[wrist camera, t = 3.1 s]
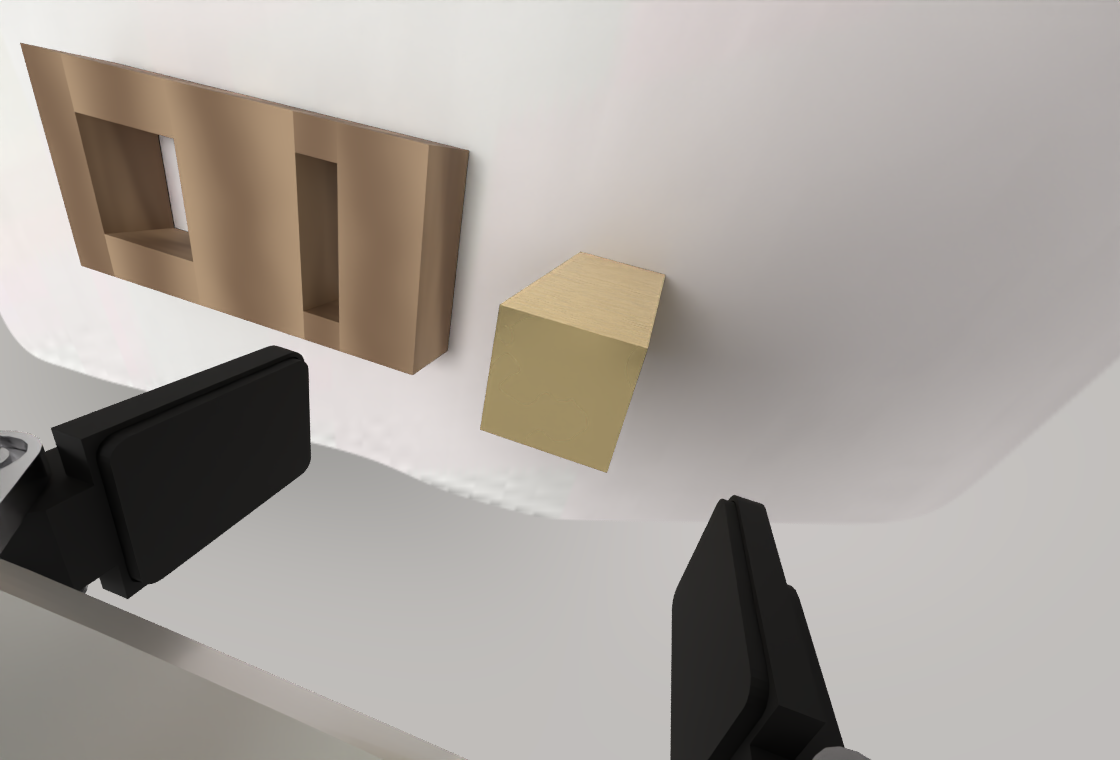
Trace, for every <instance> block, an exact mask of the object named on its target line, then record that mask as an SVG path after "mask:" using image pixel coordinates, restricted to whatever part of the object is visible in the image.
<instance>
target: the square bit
mask: <svg viewBox="0 0 1120 760" xmlns="http://www.w3.org/2000/svg"><path fill="white" fill-rule="evenodd" d="M664 279H665V275H664V274H661V273H657V272H653V271H650V270H646V269H642V268H639V267H635V266H631V265H628V264H624V263H620V262H617V261H613V260H609V259H605V258H602V257H598V256H594V255H591V254H587V253H583V252H580V253H578V254H577V255H575V256H573V257H572V258H570V259H569V260H567V261H566V262H564V263H563V264H561V265H560V266H558V267H557V268H555V269H554V270H552V271H551V272H549V273H547V274H546V275H544V276H543V277H541V278H540V279H538V280H537V281H535V282H534V283H532V284H531V285H529V286H528V287H526V288H525V289H523V290H521V291H520V292H518V293H517V294H515V295H514V296H512V297H511V298H509V299H508V300H506V301H505V302H503V303H502V304H500V306H499V312H498V319H497V325H496V332H495V338H494V344H493V351H492V357H491V363H490V370H489V376H488V382H487V389H486V395H485V401H484V408H483V414H482V421H481V427H480V430H483V431H486V432H489V433H492V434H495V435H497V436H500V437H503V438H506V439H509V440H512V441H515V442H518V443H521V444H524V445H527V446H530V447H533V448H536V449H538V450H541V451H544V452H547V453H550V454H553V455H556V456H559V457H562V458H565V459H568V460H571V461H574V462H577V463H579V464H582V465H585V466H588V467H591V468H594V469H597V470H600V471H603V472H606V473H607V471H608V468H609V464H610V461H611V458H612V455H613V452H614V449H615V446H616V443H617V440H618V437H619V434H620V431H621V428H622V425H623V422H624V419H625V416H626V413H627V410H628V407H629V404H630V401H631V398H632V395H633V392H634V389H635V386H636V383H637V380H638V377H639V374H640V371H641V368H642V365H643V362H644V359H645V355H646V352H647V349H648V346H649V341H650V337H651V333H652V329H653V325H654V321H655V316H656V312H657V308H658V304H659V300H660V296H661V291H662V287H663V283H664Z"/></svg>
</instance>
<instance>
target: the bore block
mask: <svg viewBox="0 0 1120 760" xmlns="http://www.w3.org/2000/svg"><path fill="white" fill-rule="evenodd" d="M20 44H21V48H22V52H23V55H24V59H25V63H26V66H27V70H28V73H29V77H30V81H31V84H32V88H33V92H34V95H35V99H36V103H37V106H38V110H39V113H40V117H41V121H42V124H43V128H44V132H45V135H46V139H47V143H48V146H49V150H50V153H51V157H52V161H53V164H54V168H55V172H56V175H57V179H58V182H59V186H60V190H61V193H62V197H63V201H64V204H65V208H66V212H67V215H68V219H69V222H70V226H71V230H72V233H73V237H74V241H75V244H76V248H77V252H78V255H79V259H80V262H81V266H84V267H87V268H90V269H93V270H96V271H99V272H102V273H105V274H108V275H111V276H114V277H117V278H120V279H123V280H126V281H129V282H132V283H135V284H138V285H141V286H145V287H148V288H151V289H154V290H157V291H160V292H163V293H166V294H169V295H172V296H175V297H178V298H181V299H184V300H187V301H190V302H193V303H196V304H199V305H202V306H205V307H208V308H211V309H214V310H217V311H220V312H223V313H226V314H229V315H232V316H235V317H238V318H241V319H244V320H247V321H250V322H253V323H256V324H259V325H262V326H265V327H268V328H271V329H274V330H278V331H281V332H284V333H287V334H290V335H293V336H296V337H299V338H302V339H305V340H308V341H311V342H314V343H317V344H320V345H323V346H326V347H329V348H332V349H335V350H338V351H341V352H344V353H347V354H350V355H353V356H356V357H359V358H362V359H365V360H368V361H371V362H374V363H377V364H380V365H383V366H386V367H389V368H392V369H395V370H398V371H401V372H404V373H408V374H411V375H414V374H415V373H416V372H418V371H419V370H421V369H422V368H424V367H425V366H426V365H428V364H429V363H431V362H432V361H434V360H435V359H436V358H438V357H439V356H441V355H442V354H444V353H445V352H446V351H447V350H448V341H449V332H450V322H451V313H452V304H453V295H454V285H455V276H456V267H457V257H458V248H459V239H460V229H461V220H462V211H463V201H464V192H465V183H466V173H467V164H468V155H469V150H465V149H460V148H456V147H452V146H448V145H444V144H440V143H436V142H432V141H428V140H424V139H420V138H416V137H412V136H408V135H404V134H400V133H396V132H392V131H388V130H384V129H380V128H376V127H372V126H368V125H364V124H360V123H356V122H352V121H348V120H344V119H340V118H335V117H331V116H327V115H323V114H319V113H315V112H311V111H307V110H303V109H299V108H295V107H291V106H287V105H283V104H279V103H275V102H271V101H267V100H263V99H259V98H255V97H251V96H247V95H243V94H239V93H235V92H231V91H227V90H223V89H219V88H215V87H210V86H206V85H202V84H198V83H194V82H190V81H186V80H182V79H178V78H174V77H170V76H166V75H162V74H158V73H154V72H150V71H146V70H142V69H138V68H134V67H130V66H126V65H122V64H118V63H114V62H109V61H105V60H100V59H95V58H90V57H86V56H81V55H76V54H71V53H66V52H62V51H57V50H52V49H47V48H42V47H38V46H33V45H28V44H23V43H20ZM158 135H162V136H166V137H169V138H173V139H174V144H175V150H176V157H177V163H178V169H179V175H180V182H181V188H182V194H183V200H184V207H185V213H186V219H187V225H188V232H186V231H183V230H180V229H176V228H174V225H173V219H172V213H171V207H170V202H169V196H168V190H167V184H166V179H165V173H164V167H163V161H162V156H161V150H160V144H159V138H158Z"/></svg>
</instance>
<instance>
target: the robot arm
mask: <svg viewBox="0 0 1120 760" xmlns="http://www.w3.org/2000/svg"><path fill="white" fill-rule="evenodd" d="M51 430H52V433H53V436H54V439H55V442H56V445H57V447H56V448H53V449H51V450H48V451H46V452H45V451H44V448H43V445H42V443H41V441H40V439H39V438H38V437H36V436H34V435H32V434H30V433H25V432H19V431H0V760H467V759H465V758H463V757H460V756H458V755H456V754H454V753H452V752H449V751H447V750H445V749H442V748H440V747H438V746H436V745H433V744H431V743H429V742H426V741H424V740H422V739H419V738H417V737H415V736H413V735H410V734H408V733H406V732H404V731H401V730H399V729H397V728H395V727H392V726H390V725H388V724H386V723H383V722H381V721H379V720H376V719H374V718H372V717H370V716H367V715H365V714H363V713H361V712H358V711H356V710H354V709H351V708H349V707H347V706H345V705H342V704H340V703H338V702H335V701H333V700H331V699H328V698H326V697H324V696H322V695H319V694H317V693H315V692H312V691H310V690H308V689H305V688H303V687H301V686H298V685H296V684H294V683H291V682H289V681H287V680H285V679H282V678H280V677H277V676H275V675H273V674H271V673H268V672H266V671H264V670H262V669H259V668H257V667H254V666H252V665H250V664H247V663H245V662H243V661H241V660H238V659H236V658H234V657H231V656H229V655H226V654H224V653H222V652H220V651H218V650H215V649H213V648H211V647H208V646H206V645H204V644H201V643H199V642H197V641H194V640H192V639H190V638H187V637H185V636H183V635H180V634H178V633H176V632H173V631H171V630H169V629H167V628H164V627H162V626H159V625H157V624H155V623H152V622H150V621H148V620H145V619H143V618H141V617H138V616H136V615H134V614H131V613H129V612H127V611H124V610H122V609H119V608H117V607H115V606H112V605H110V604H108V603H105V602H103V601H101V600H98V599H96V598H93V597H91V596H89V595H87V594H85V593H86V591H87V587H88V584H90V583H91V582H93V581H94V580H96V579H97V578H100V580H101V584H102V587H103V589H105V590H108V591H110V592H112V593H115V594H118V595H120V596H122V597H124V598H126V599H129V598H130V597H131V596H133V595H134V594H135V593H137V592H138V591H139V590H141V589H142V588H143V587H145V586H146V585H147V584H153V583H156V582H158V581H159V580H161V579H163V578H164V577H165V576H167V575H168V574H169V573H171V572H172V571H173V570H175V569H176V568H177V567H179V566H180V565H181V564H183V563H184V562H185V561H187V560H188V559H189V558H191V557H192V556H193V555H195V554H196V553H197V552H199V551H200V550H201V549H203V548H204V547H205V546H207V545H208V544H209V543H211V542H212V541H213V540H215V539H216V538H217V537H219V536H220V535H221V534H223V533H224V532H225V531H227V530H228V529H229V528H231V527H232V526H233V525H235V524H236V523H237V522H239V521H240V520H241V519H243V518H244V517H245V516H247V515H248V514H249V513H251V512H252V511H253V510H255V509H256V508H257V507H259V506H260V505H261V504H263V503H264V502H265V501H267V500H268V499H269V498H271V497H272V496H273V495H275V494H276V493H277V492H279V491H280V490H281V489H283V488H284V487H285V486H287V485H288V484H289V483H291V482H292V481H293V480H295V479H296V478H297V477H299V476H300V475H301V474H303V473H304V472H305V470H306V469H307V468H308V466H309V464H310V460H311V445H310V409H309V373H308V365H307V364H306V363H305V362H304V359H303V357H302V355H300V354H299V353H297V352H294V351H291V350H288V349H285V348H282V347H279V346H274V345H273V346H268V347H266V348H263V349H260V350H258V351H255V352H252V353H250V354H247V355H244V356H242V357H239V358H236V359H234V360H231V361H228V362H226V363H223V364H220V365H218V366H215V367H212V368H210V369H207V370H204V371H202V372H199V373H196V374H194V375H191V376H188V377H186V378H183V379H180V380H178V381H175V382H172V383H170V384H167V385H164V386H162V387H159V388H156V389H154V390H151V391H148V392H146V393H143V394H140V395H138V396H135V397H132V398H130V399H127V400H124V401H122V402H119V403H117V404H114V405H111V406H109V407H106V408H103V409H101V410H98V411H95V412H92V413H90V414H87V415H84V416H82V417H79V418H77V419H74V420H71V421H68V422H66V423H63V424H61V425H58V426H55V427H52V428H51ZM671 663H672V664H671V665H672V666H671V668H672V669H671V760H870V759H869V758H867V757H865V756H863V755H862V754H860V753H859V752H857V751H853V750H850V749H847V748H845V747H844V744H843V741H842V737H841V734H840V731H839V728H838V724H837V721H836V718H835V714H834V711H833V708H832V705H831V701H830V698H829V695H828V691H827V688H826V685H825V681H824V678H823V675H822V672H821V669H820V665H819V662H818V658H817V656H816V652H815V649H814V645H813V642H812V639H811V635H810V632H809V629H808V626H807V622H806V619H805V616H804V612H803V609H802V606H801V603H800V599H799V597H798V594H797V592H796V590H795V589H794V588H793V587H792V586H790V585H787V583H786V579H785V576H784V572H783V569H782V565H781V562H780V558H779V555H778V551H777V548H776V544H775V541H774V537H773V534H772V530H771V526H770V523H769V519H768V516H767V512H766V509H765V507H764V505H763V504H760V503H757V502H754V501H751V500H748V499H745V498H742V497H739V496H736V495H733V496H732V497H731V498H730V499H729V500H725V499H720V500H719V502H718V503H717V505H716V507H715V509H714V511H713V514H712V516H711V518H710V520H709V522H708V524H707V526H706V528H705V530H704V532H703V535H702V536H701V539H700V541H699V543H698V545H697V547H696V549H695V551H694V553H693V555H692V557H691V559H690V561H689V564H688V566H687V568H686V570H685V572H684V574H683V576H682V578H681V580H680V582H679V584H678V586H677V589H676V591H675V594H674V599H673V604H672V662H671Z"/></svg>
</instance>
